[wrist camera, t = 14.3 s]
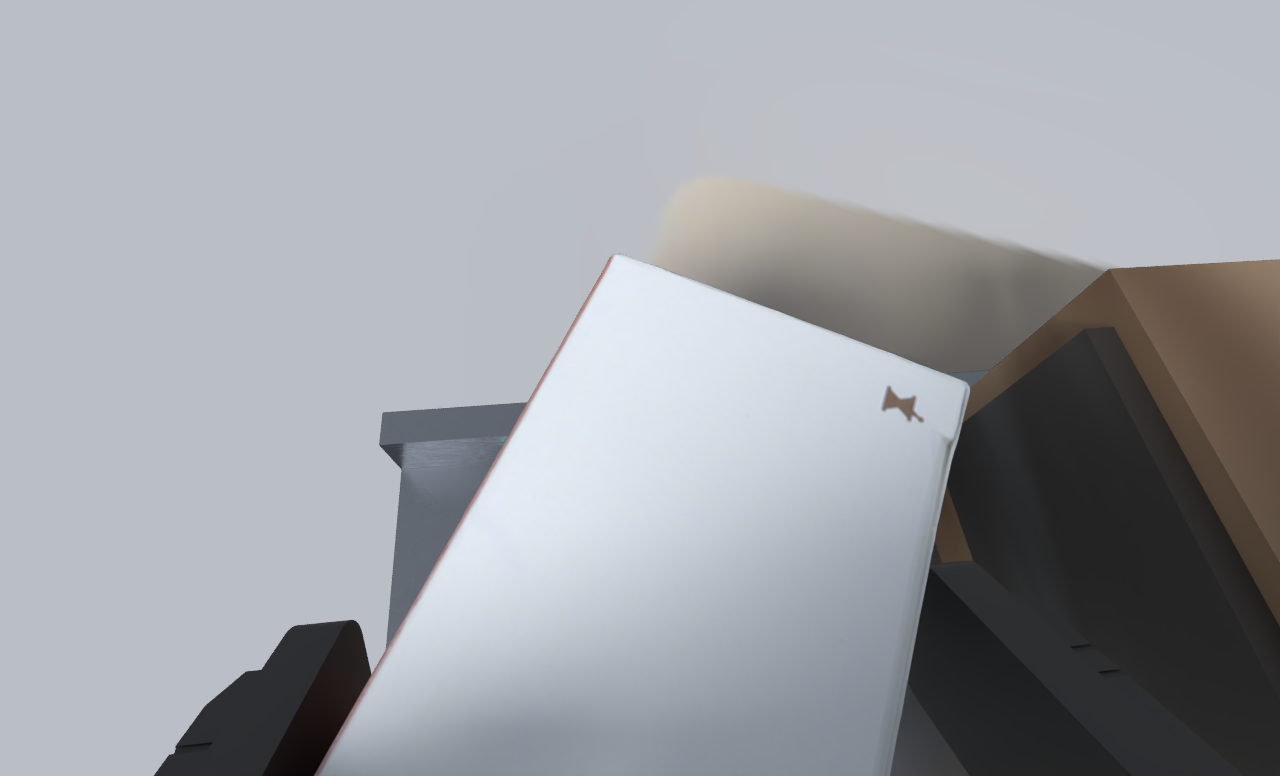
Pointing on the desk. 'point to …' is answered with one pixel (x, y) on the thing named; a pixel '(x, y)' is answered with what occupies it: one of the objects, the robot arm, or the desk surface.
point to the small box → (677, 557)
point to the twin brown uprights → (1144, 488)
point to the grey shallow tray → (447, 482)
